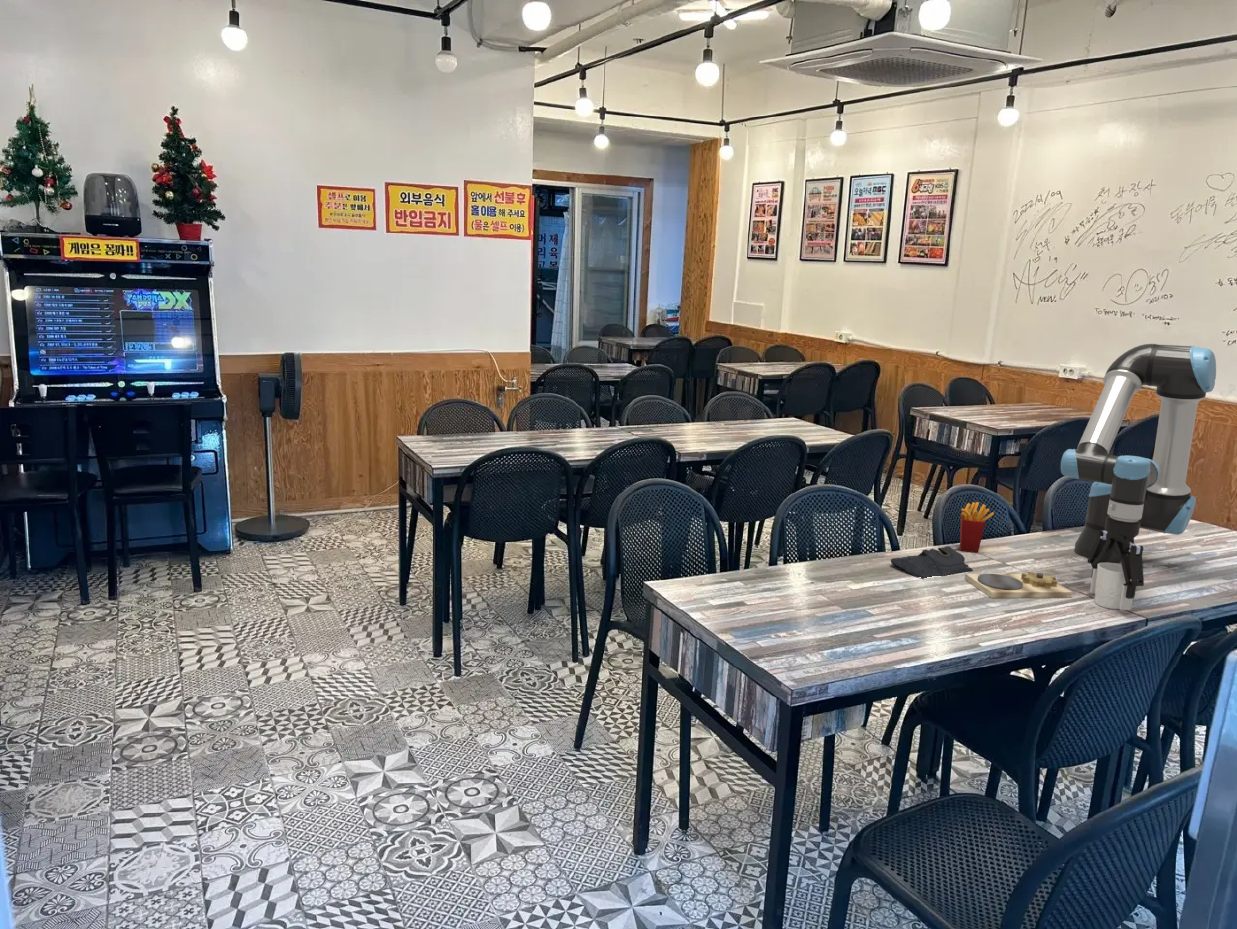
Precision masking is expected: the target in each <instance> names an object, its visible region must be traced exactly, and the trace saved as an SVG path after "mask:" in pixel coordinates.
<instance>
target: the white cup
mask: <svg viewBox="0 0 1237 929" xmlns="http://www.w3.org/2000/svg"><path fill="white" fill-rule="evenodd" d="M1130 581H1131V580H1130ZM1125 583H1126V582H1125V577H1124V573H1123V569H1122V564H1121V563H1117V562H1106V563H1099V564H1098V566H1097V575H1096V587H1095V593H1094V599H1093V602H1094V603H1095V604H1096V605H1097V606H1100V607H1102V608H1105V609H1111V610H1120V609H1119V605H1120V599H1121V593H1122V587H1123V584H1125Z"/></svg>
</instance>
